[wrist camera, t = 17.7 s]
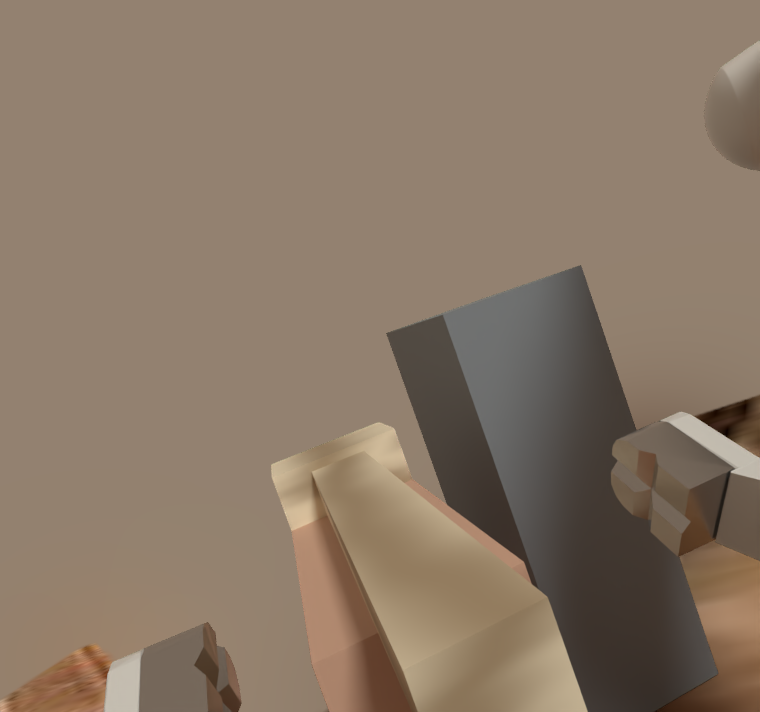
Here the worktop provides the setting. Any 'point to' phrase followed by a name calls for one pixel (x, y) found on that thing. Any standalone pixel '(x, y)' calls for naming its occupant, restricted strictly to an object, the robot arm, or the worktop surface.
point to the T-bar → (430, 584)
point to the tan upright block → (357, 617)
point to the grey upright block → (555, 481)
